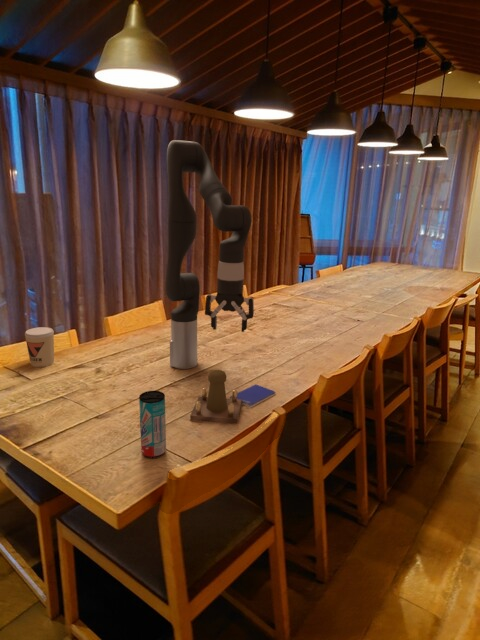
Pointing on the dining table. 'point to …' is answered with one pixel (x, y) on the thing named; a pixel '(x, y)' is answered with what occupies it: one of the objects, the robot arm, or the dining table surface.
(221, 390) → the cork
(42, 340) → the coffee cup
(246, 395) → the hard drive
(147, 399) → the beverage can
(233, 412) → the walnut stand
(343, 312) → the dining table surface
